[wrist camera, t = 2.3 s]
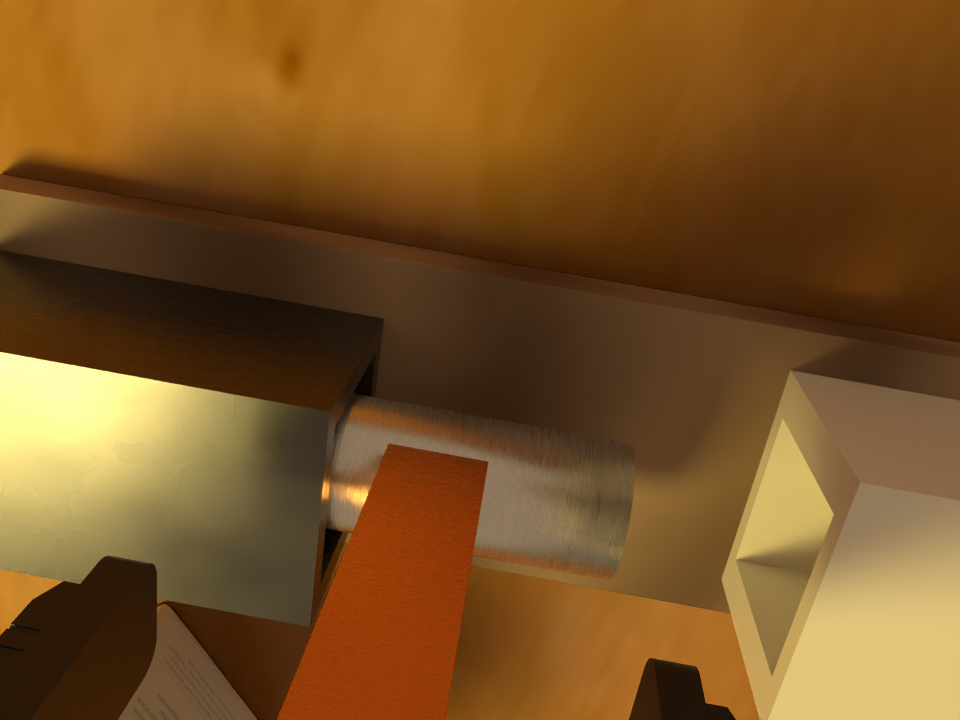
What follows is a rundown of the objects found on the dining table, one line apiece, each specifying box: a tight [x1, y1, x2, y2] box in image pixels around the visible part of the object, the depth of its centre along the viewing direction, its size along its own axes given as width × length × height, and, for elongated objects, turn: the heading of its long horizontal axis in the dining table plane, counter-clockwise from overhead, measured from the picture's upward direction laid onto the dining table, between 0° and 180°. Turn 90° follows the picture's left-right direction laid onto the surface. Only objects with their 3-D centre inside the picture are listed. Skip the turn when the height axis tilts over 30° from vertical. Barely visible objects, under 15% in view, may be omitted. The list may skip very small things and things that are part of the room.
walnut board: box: [0, 174, 960, 613], centre depth 21 cm, size 24×8×1 cm, turn 81°
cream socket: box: [721, 370, 960, 720], centre depth 18 cm, size 4×6×5 cm
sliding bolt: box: [277, 393, 635, 720], centre depth 15 cm, size 14×3×11 cm, turn 81°
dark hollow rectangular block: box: [0, 250, 384, 627], centre depth 19 cm, size 10×5×5 cm, turn 81°
